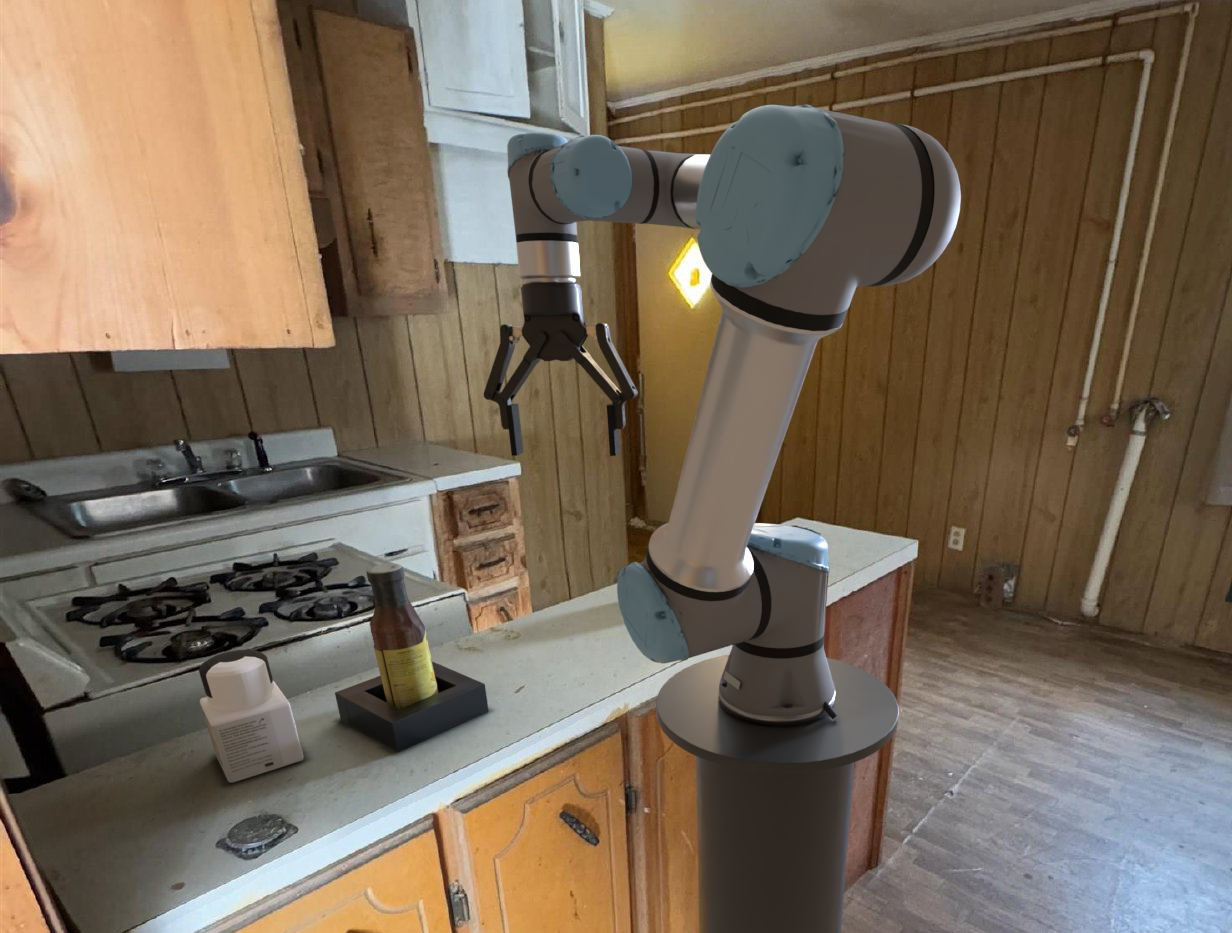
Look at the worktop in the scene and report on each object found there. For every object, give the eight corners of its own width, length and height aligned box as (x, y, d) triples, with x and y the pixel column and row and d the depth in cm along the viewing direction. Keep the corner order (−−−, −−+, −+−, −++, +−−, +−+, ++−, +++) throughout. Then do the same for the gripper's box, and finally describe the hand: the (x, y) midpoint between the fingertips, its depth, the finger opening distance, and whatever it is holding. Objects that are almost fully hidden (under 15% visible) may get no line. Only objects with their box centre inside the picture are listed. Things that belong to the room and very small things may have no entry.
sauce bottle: (452, 710, 102) (428, 563, 94) (416, 731, 96) (388, 579, 88) (414, 700, 104) (387, 557, 96) (377, 721, 99) (346, 571, 91)
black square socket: (488, 711, 101) (485, 683, 100) (397, 752, 92) (392, 723, 90) (430, 684, 109) (426, 658, 107) (340, 720, 99) (334, 692, 98)
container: (216, 756, 91) (184, 655, 86) (288, 735, 96) (262, 637, 90) (229, 785, 86) (196, 678, 80) (305, 760, 90) (279, 658, 85)
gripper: (653, 281, 100) (661, 450, 108) (466, 285, 103) (488, 449, 111) (642, 278, 93) (651, 458, 102) (442, 282, 96) (467, 458, 104)
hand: (566, 454), depth 106 cm, fingers open, 13 cm apart
